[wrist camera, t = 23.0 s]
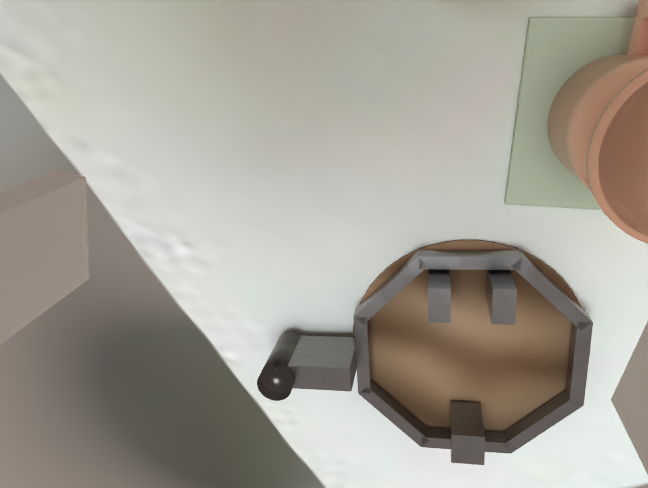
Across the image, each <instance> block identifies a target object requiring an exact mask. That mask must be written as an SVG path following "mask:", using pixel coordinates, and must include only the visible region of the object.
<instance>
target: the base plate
mask: <svg viewBox="0 0 648 488" xmlns="http://www.w3.org/2000/svg"><path fill="white" fill-rule="evenodd" d="M419 250H519V249H516V248H514V247H511V246H508V245H504V244H500V243H496V242H490V241H482V240H455V241H446V242H441V243H437V244H433V245H429V246H426V247H423V248H421V249H418V250H415V251H413V252H411V253H409V254H407V255H405V256H404V257H402V258H400V259H399V260H397V261H396V262H394V263H393V264H391V265H390V266H389V267H388V268H387V269H385V270H384V271H383V272H382V273H381V274H380V275H379V276H378V277H377V278H376V280H375V281H374V282H373V283H372V284H371V286H370V287H369V289H368V290H367V292H366V293H365V295H364V297H363V299H362V301H361V303H360V305H361V304H362V303H363V302H364V301H365V300H366V299H367V298H368V297H369V296H370V295H372V294H373V293H374V292H375V291H376V290H377V289H378V288H379V287H380V286H381V285H382V284H383V283H384V282H386V281H387V280H388V279H389V278H390V277H391V276H392V275H393V274H394V273H395V272H396V271H397V270H398V269H399V268H401V267H402V266H403V265H404V264H405V263H406V262H407V261H408V260H409V259H410V258H411V257H412V256H413V255H415V254H416V253H417V252H418V251H419ZM519 251H521V252H522V253H523V254H524V255H525V256H526V257H527V258H528V259H529V260H531V261H532V262H533V263H534V264H535V265H536V266H537V267H538V268H539V269H540V270H541V271H542V272H543V273H545V274H546V275H547V276H548V277H549V278H550V279H551V280H552V281H553V282H554V283H555V284H556V285H557V286H559V287H560V288H561V289H562V290H563V291H564V292H565V293H566V294H567V295H568V296H569V297H570V298H571V299H573V300H574V301H575V302H576V303H577V304H578V305H579V306H580V307H581V305H580V303H579V302H578V300H577V298H576V296H575V294H574V293H573V291H572V290H571V289H570V287H569V286H568V285H567V283H566V282H565V281H564V280H563V279H562V278H561V277H560V276H559V275H558V274H557V273H556V272H555V271H554V270H553V269H552V268H550V267H549V266H548V265H546V264H545V263H544V262H542V261H541V260H539V259H537V258H536V257H534V256H532V255H530V254H528V253H526V252H524V251H522V250H519ZM449 271H450V284H451V323H428V269H424V270H423V271H422V272H421V273H420V274H419V275H418V276H417V277H416V278H414V279H413V280H412V281H411V282H410V283H409V284H408V285H407V286H406V287H404V288H403V289H402V290H401V291H400V292H399V293H398V294H397V295H396V296H395V297H393V298H392V299H391V300H390V301H389V302H388V303H387V304H386V305H385V306H384V307H382V308H381V309H380V310H379V311H378V312H377V313H376V314H375V315H374V316H372V317H371V318H370V319H369V332H370V352H371V371H372V381H373V382H374V383H375V384H376V385H377V386H378V387H380V388H381V389H382V390H383V391H384V392H385V393H386V394H388V395H389V396H390V397H391V398H392V399H393V400H395V401H396V402H397V403H398V404H399V405H400V406H402V407H403V408H404V409H405V410H406V411H407V412H409V413H410V414H411V415H412V416H413V417H414V418H416V419H417V420H418V421H419V422H420V423H421V424H423V425H424V426H425V427H426V428H438V429H450V401H454V402H473V403H481V410H482V418H483V425H484V432H500V433H504V432H506V431H507V430H509V429H510V428H512V427H513V426H515V425H516V424H517V423H519V422H520V421H522V420H523V419H525V418H526V417H528V416H529V415H531V414H532V413H534V412H535V411H537V410H538V409H539V408H541V407H542V406H544V405H545V404H547V403H548V402H550V401H551V400H553V399H554V398H556V397H557V396H558V395H560V394H561V393H563V392H564V391H566V384H567V374H568V364H569V354H570V344H571V334H572V322H571V321H570V320H569V319H568V318H567V317H566V316H565V315H564V314H562V313H561V312H560V311H559V310H558V309H557V308H556V307H555V306H554V305H553V304H552V303H551V302H549V301H548V300H547V299H546V298H545V297H544V296H543V295H542V294H541V293H540V292H539V291H538V290H536V289H535V288H534V287H533V286H532V285H531V284H530V283H529V282H528V281H527V280H526V279H525V278H523V277H522V276H521V275H520V274H519V273H518V272H517V271H516V270H510V271H511V274H512V276H513V279H514V282H515V285H516V288H517V300H516V318H515V325H500V324H492V323H491V319H490V314H489V309H488V305H487V300H486V285H487V270H449ZM581 308H582V307H581ZM353 337H355V330H354V327H353ZM589 354H590V352H589ZM588 362H589V361H588Z"/></svg>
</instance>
